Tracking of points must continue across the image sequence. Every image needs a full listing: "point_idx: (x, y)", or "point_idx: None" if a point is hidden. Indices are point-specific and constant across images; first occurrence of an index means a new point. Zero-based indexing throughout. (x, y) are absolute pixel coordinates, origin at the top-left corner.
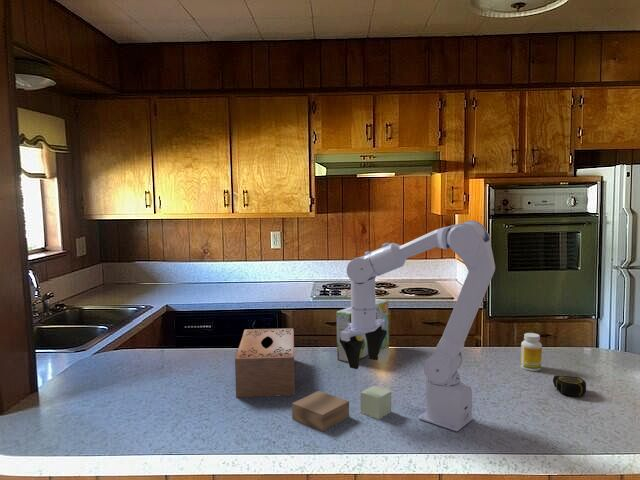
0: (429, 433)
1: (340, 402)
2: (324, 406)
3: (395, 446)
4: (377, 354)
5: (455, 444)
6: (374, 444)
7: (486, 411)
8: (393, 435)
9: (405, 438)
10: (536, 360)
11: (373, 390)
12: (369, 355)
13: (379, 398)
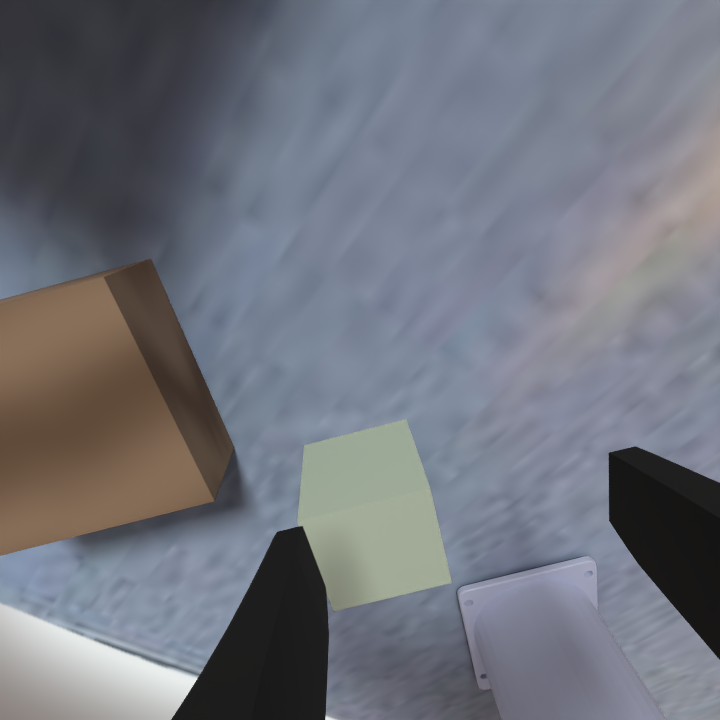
0: (406, 655)
1: (158, 493)
2: (44, 488)
3: None
4: (661, 589)
5: (414, 713)
6: (199, 634)
7: (677, 637)
8: None
9: None
10: None
11: (378, 537)
12: (634, 482)
13: (339, 606)
